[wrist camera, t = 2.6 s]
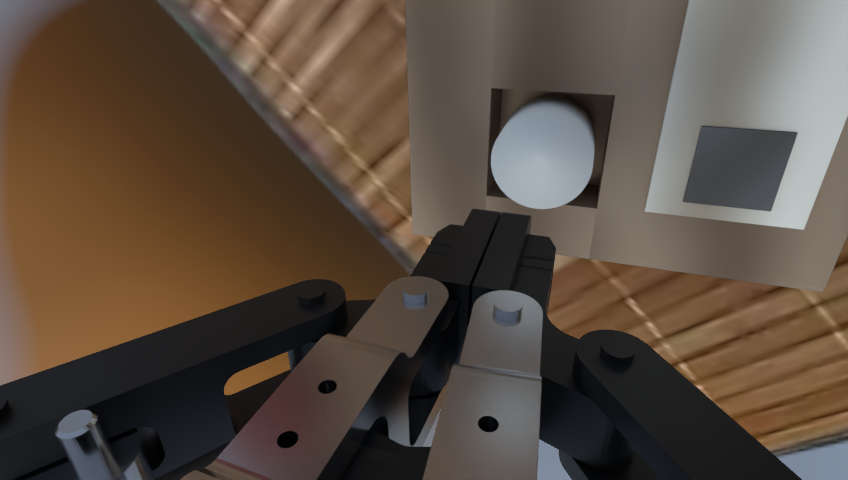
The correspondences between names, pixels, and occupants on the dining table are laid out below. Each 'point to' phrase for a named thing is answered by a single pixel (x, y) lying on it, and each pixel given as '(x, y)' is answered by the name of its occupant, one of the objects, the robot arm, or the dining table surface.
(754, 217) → the button board
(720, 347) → the dining table surface
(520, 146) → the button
